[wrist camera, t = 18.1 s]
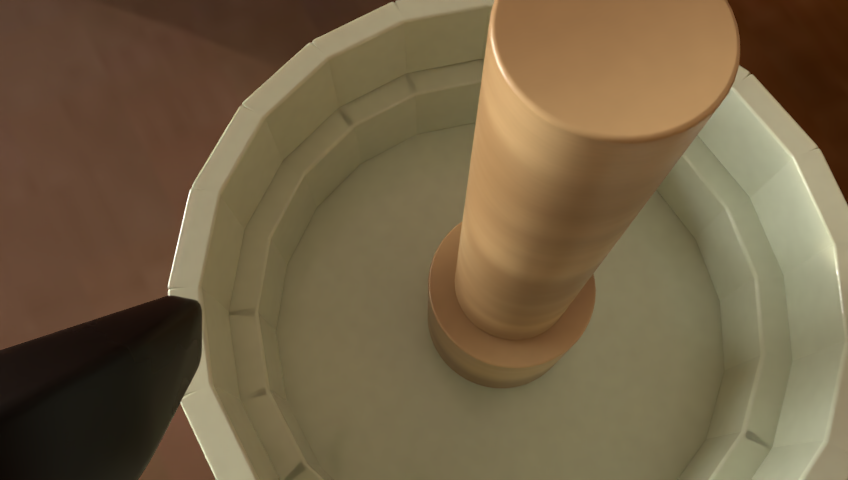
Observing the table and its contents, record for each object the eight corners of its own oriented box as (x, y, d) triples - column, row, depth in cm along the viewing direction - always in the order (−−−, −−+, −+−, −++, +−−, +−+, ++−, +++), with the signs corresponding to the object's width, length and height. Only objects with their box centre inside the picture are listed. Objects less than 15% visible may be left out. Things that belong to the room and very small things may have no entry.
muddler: (592, 362, 18) (874, 132, 7) (454, 408, 17) (507, 247, 6) (539, 232, 19) (700, -143, 8) (409, 273, 19) (385, -63, 8)
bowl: (545, 768, 15) (598, 887, 11) (123, 347, 19) (22, 298, 14) (860, 297, 19) (1002, 232, 14) (463, 18, 22) (473, -108, 18)
